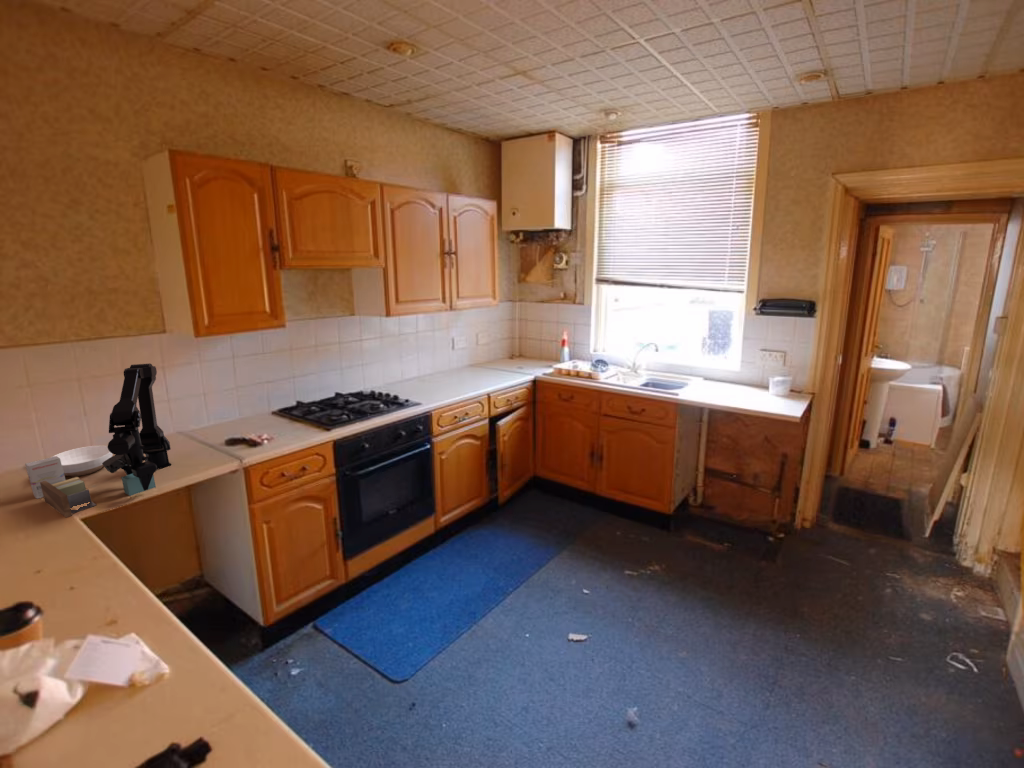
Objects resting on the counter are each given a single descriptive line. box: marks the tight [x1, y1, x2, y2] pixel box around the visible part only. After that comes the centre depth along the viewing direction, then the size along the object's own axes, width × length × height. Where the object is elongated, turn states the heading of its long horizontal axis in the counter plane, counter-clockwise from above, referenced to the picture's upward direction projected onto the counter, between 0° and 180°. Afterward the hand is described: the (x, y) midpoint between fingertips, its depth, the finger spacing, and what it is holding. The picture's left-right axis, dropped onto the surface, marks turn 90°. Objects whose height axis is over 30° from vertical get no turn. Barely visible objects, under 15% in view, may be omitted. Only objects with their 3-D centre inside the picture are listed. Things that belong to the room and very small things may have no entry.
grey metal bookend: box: [67, 488, 97, 515], centre depth 172 cm, size 7×5×4 cm, turn 145°
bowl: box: [51, 445, 114, 477], centre depth 201 cm, size 20×20×6 cm
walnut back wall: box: [40, 481, 73, 518], centre depth 171 cm, size 2×19×7 cm, turn 55°
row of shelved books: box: [51, 476, 87, 496], centre depth 178 cm, size 8×6×6 cm
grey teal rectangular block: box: [121, 474, 157, 497], centre depth 184 cm, size 8×4×6 cm, turn 145°
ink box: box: [24, 455, 66, 500], centre depth 182 cm, size 8×5×12 cm, turn 141°
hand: (139, 486), depth 184 cm, fingers open, 9 cm apart
